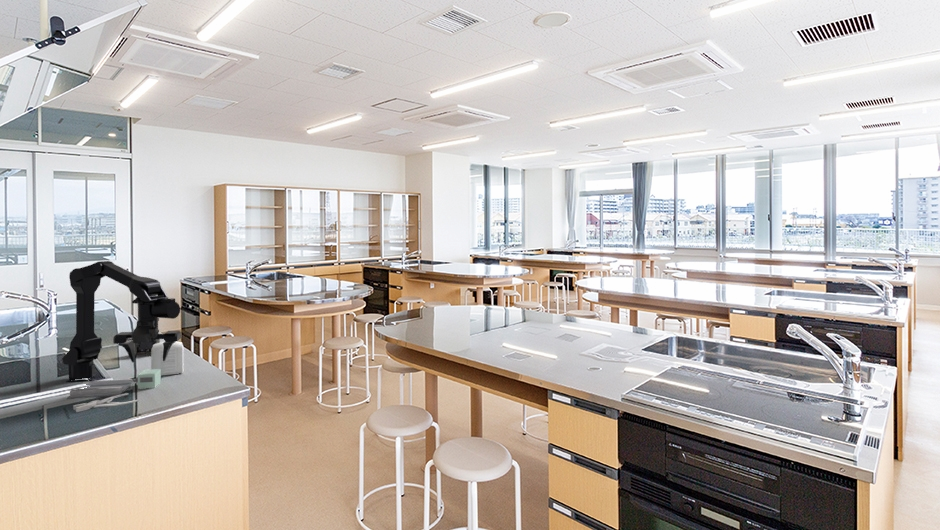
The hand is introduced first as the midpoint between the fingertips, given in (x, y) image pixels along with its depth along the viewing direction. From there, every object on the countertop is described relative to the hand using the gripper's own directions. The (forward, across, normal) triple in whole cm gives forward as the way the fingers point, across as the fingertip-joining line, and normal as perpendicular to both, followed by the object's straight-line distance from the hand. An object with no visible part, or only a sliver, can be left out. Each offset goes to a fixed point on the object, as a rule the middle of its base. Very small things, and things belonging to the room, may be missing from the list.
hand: (148, 361), depth 164 cm
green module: (+9, 0, 0) cm, 9 cm away
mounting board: (+8, -13, -2) cm, 16 cm away
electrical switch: (+9, -14, +44) cm, 47 cm away
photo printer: (+9, +2, +13) cm, 16 cm away
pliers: (+9, -7, -16) cm, 20 cm away
